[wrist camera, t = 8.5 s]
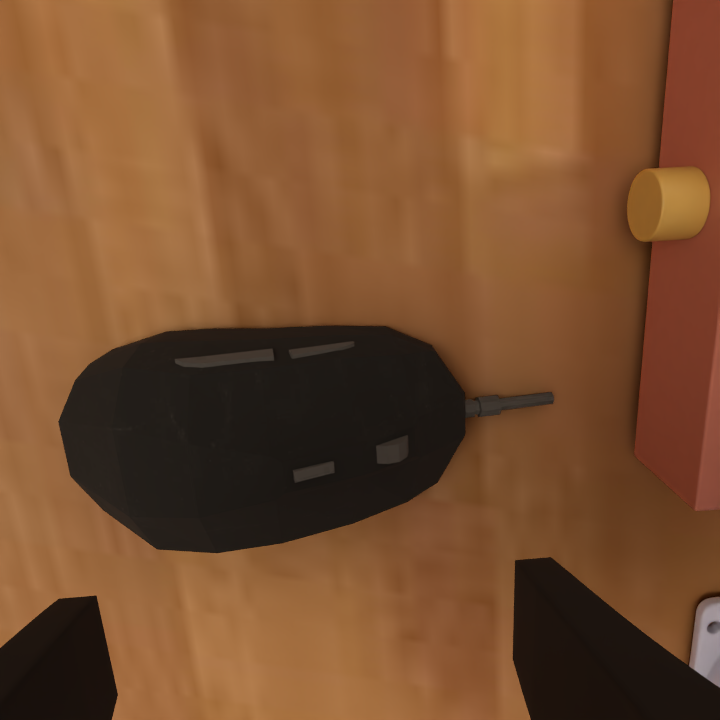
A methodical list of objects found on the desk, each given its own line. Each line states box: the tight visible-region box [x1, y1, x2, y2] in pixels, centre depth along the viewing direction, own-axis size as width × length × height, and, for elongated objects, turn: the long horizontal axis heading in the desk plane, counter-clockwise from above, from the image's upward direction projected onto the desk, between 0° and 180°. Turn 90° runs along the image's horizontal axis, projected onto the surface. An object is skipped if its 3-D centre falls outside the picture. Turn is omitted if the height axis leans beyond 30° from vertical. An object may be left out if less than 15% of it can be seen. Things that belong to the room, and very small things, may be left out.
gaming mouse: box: [58, 326, 554, 553], centre depth 17 cm, size 6×15×4 cm, turn 94°
